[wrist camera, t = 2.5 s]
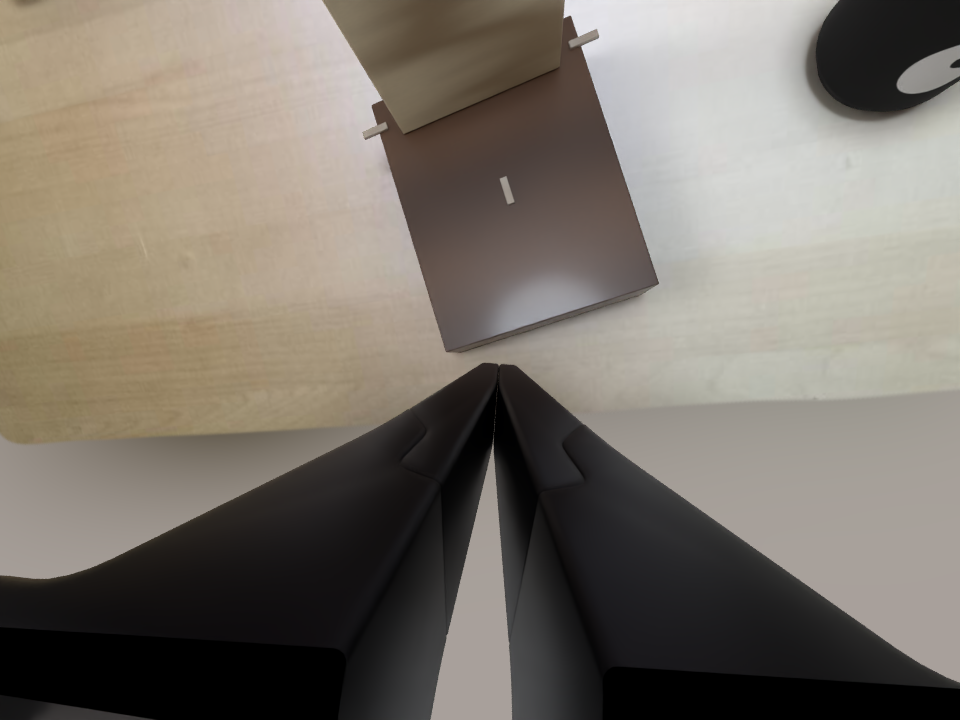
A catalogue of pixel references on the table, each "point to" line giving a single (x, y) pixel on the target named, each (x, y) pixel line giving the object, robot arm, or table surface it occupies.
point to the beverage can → (889, 52)
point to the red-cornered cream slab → (448, 50)
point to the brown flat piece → (519, 206)
